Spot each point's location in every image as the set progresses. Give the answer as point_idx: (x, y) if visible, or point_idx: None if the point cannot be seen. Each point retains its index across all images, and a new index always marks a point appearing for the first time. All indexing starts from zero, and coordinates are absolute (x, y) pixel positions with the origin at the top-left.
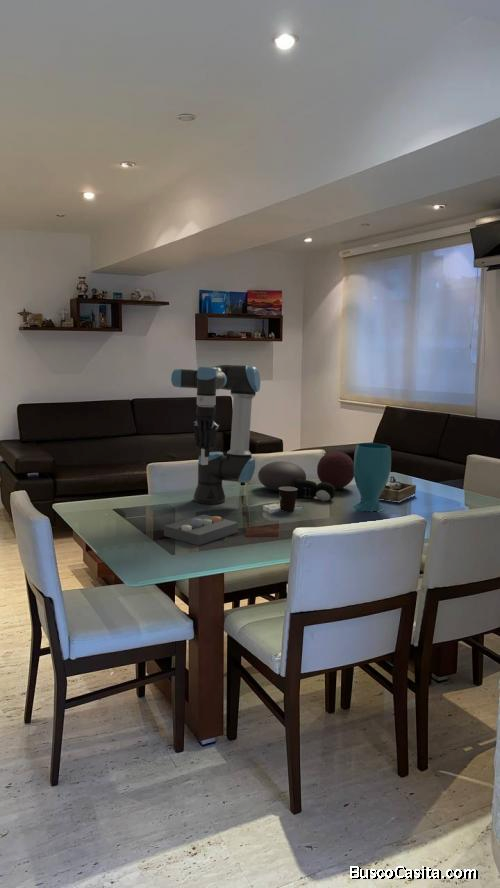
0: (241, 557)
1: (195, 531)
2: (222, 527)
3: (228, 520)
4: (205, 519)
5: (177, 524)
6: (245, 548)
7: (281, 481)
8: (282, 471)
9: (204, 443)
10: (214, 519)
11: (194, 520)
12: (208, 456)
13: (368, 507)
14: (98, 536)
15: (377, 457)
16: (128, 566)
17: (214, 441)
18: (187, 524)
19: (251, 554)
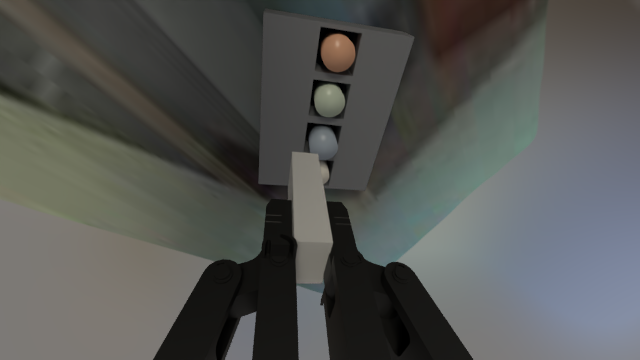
0: (457, 184)
1: (345, 176)
2: (388, 114)
3: (376, 34)
4: (322, 97)
5: (276, 159)
6: (454, 140)
7: None
8: None
9: (329, 336)
10: (340, 70)
11: (324, 159)
12: (341, 209)
13: None
14: (169, 235)
15: None
16: None
17: (449, 337)
18: (296, 144)
19: (473, 162)
